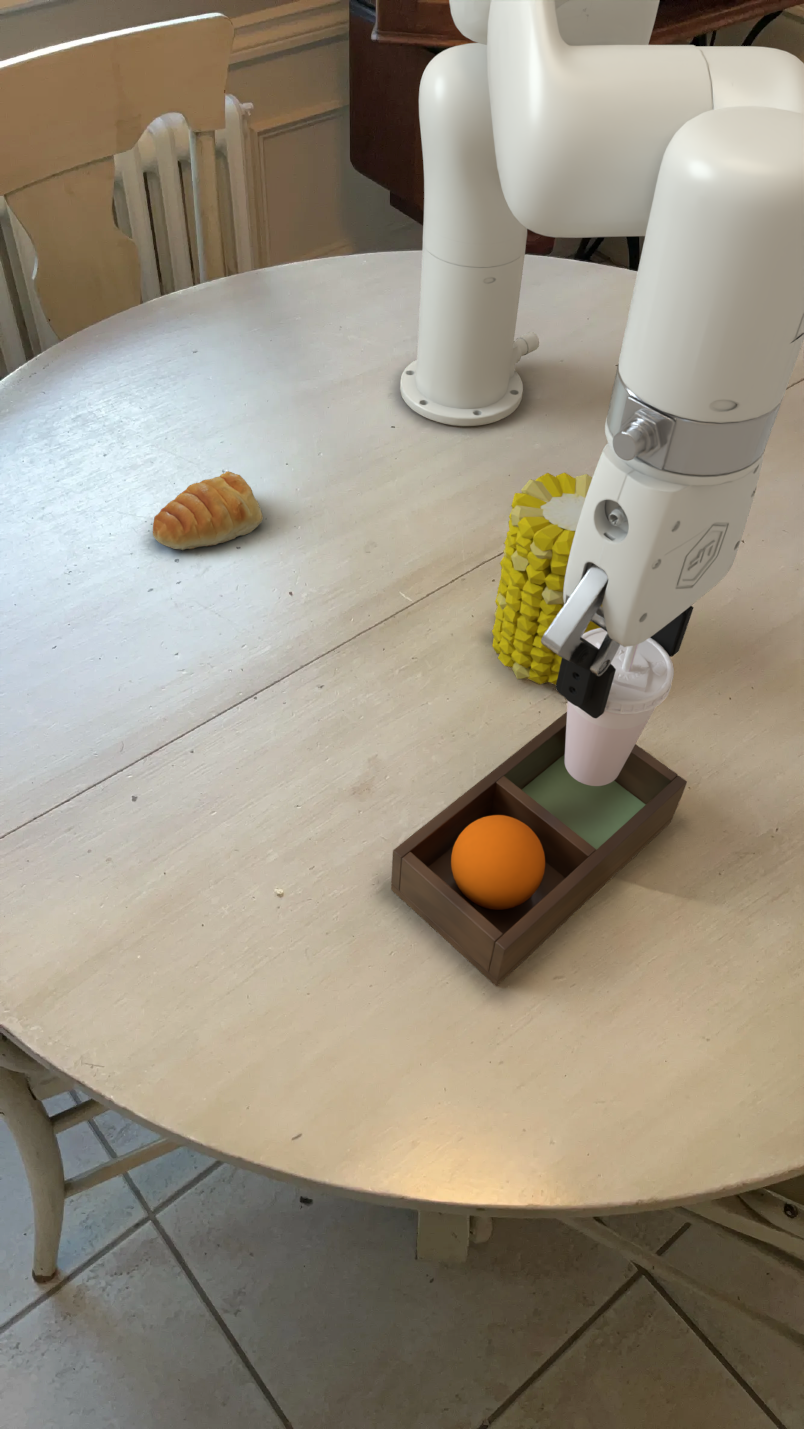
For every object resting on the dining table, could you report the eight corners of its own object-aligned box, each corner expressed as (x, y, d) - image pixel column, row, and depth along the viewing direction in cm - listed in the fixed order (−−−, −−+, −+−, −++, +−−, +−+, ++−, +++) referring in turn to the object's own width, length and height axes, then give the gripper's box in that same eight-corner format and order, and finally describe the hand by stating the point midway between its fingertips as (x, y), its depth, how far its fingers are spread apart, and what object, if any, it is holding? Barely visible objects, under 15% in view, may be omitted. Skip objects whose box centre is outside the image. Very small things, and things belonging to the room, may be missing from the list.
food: (483, 693, 84) (511, 614, 90) (632, 706, 80) (650, 622, 87) (457, 533, 74) (491, 457, 80) (627, 538, 70) (648, 458, 76)
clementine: (490, 833, 72) (499, 780, 68) (557, 888, 70) (571, 838, 65) (429, 884, 69) (434, 833, 65) (496, 944, 67) (506, 895, 62)
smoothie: (578, 817, 67) (622, 666, 56) (525, 745, 70) (556, 591, 60) (660, 781, 69) (717, 629, 58) (604, 714, 72) (648, 559, 62)
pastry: (178, 568, 90) (172, 533, 87) (138, 528, 93) (131, 493, 90) (270, 526, 94) (267, 491, 91) (228, 489, 97) (224, 454, 94)
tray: (390, 889, 70) (392, 850, 66) (567, 744, 79) (578, 702, 75) (496, 987, 66) (504, 950, 62) (671, 822, 74) (688, 781, 71)
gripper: (641, 530, 43) (572, 789, 57) (857, 377, 51) (751, 635, 65) (506, 449, 47) (472, 711, 60) (729, 317, 55) (654, 575, 68)
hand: (617, 670), depth 63 cm, fingers closed on smoothie, 6 cm apart
